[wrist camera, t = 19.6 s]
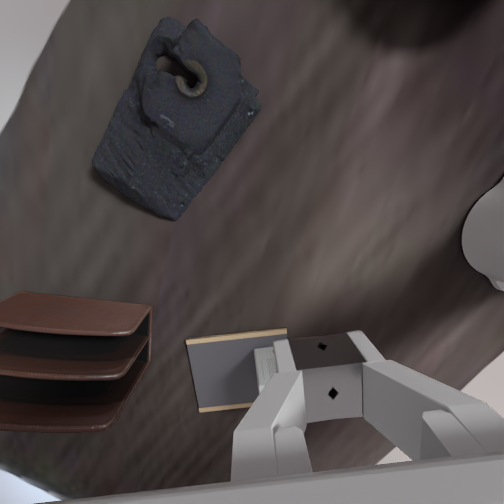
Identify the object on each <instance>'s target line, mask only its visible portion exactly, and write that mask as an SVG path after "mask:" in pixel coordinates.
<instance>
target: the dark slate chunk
mask: <svg viewBox="0 0 504 504" xmlns="http://www.w3.org/2000/svg"><path fill="white" fill-rule="evenodd" d="M163 55H169V56H171V57H172V58H173V59H174V60H176V61H177V62H178V63H179V64H180V65H181V67H182V68H183V69H184V70H185V71H186V72H187V73H189V74H190V75H191V76H193V77H194V78H195V79H196V80H197V83H196V85H195V87H194V88H190V87H189V86H188V85H187V84H186V83H187V81H188V80H186V79H185V78H183V77H182V76H180V75H178V76H172V75H171V74H169V73H167V72H164V71H162V70H159V71H157V70H156V61H157V59H158V58H159V57H160V56H163ZM189 85H190V84H189ZM258 92H259V90H258V89H257V88H255V87H254V86H252V85H251V84H250V83H249V82H248V81H247V80H246V79H245V78H243V77H242V76H241V70H240V57H239V56H238V55H237V54H236V53H235V52H233V51H232V50H231V49H230V48H229V47H227V46H225V45H224V44H222V43H221V42H220V41H219V40H218V39H216V38H215V37H214V36H213V35H212V34H211V33H210V32H209V30H208V28H207V26H205V25H203V24H202V23H201V22H200V20H199V19H195V20H193V21H192V22H191V23H190V24H189V25H188V26H187V27H186V26H182V25H181V24H180V23H179V22H178V21H177V20H174V19H173V18H172V17H167V18H163V19H161V20H160V22H159V24H158V26H157V27H156V28H155V29H154V30H153V32H152V34H151V36H150V39H149V41H148V43H147V46H146V47H145V49H144V51H143V53H142V56H141V59H140V61H139V64H138V67H137V69H136V71H135V73H134V76H133V78H132V83H131V84H130V85H129V89H127V90H125V91H124V93H123V96H122V98H121V99H120V100H119V102H118V105H117V106H116V109H115V113H114V116H113V118H112V119H111V121H110V123H109V127H108V129H107V131H106V133H105V135H104V138H103V139H102V141H101V143H100V144H99V146H98V148H97V149H96V152H95V156H94V157H93V159H92V163H93V166H94V168H95V169H96V170H97V172H98V173H99V174H100V175H101V176H102V177H103V178H104V179H105V180H106V181H107V182H108V183H109V184H111V185H112V186H114V187H115V188H116V189H117V190H118V191H119V192H121V193H122V194H124V195H126V196H128V197H129V198H131V199H132V200H133V201H134V202H136V203H137V204H139V205H141V206H143V207H145V208H146V209H149V210H153V211H154V213H156V214H157V215H159V216H162V217H164V218H170V219H172V220H174V221H176V220H177V219H178V218H179V217H180V216H181V214H182V213H183V212H185V211H186V209H187V208H188V206H189V204H190V202H191V200H192V199H193V198H194V197H196V196H197V194H198V193H199V192H200V191H201V190H202V188H203V186H204V185H205V184H206V183H207V182H208V181H209V179H210V178H211V177H212V176H213V175H214V173H215V171H216V170H218V168H219V166H220V165H221V163H222V161H224V160H225V158H226V156H227V155H228V154H229V153H230V152H231V150H232V148H233V147H234V145H235V144H236V143H237V142H238V140H239V139H240V137H241V136H242V134H243V133H244V132H245V131H246V129H247V127H248V126H249V125H250V124H251V123H252V122H253V120H254V119H255V117H256V115H257V114H258V113H259V112H260V110H261V105H260V104H259V103H258V102H257V100H256V96H257V93H258Z"/></svg>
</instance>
